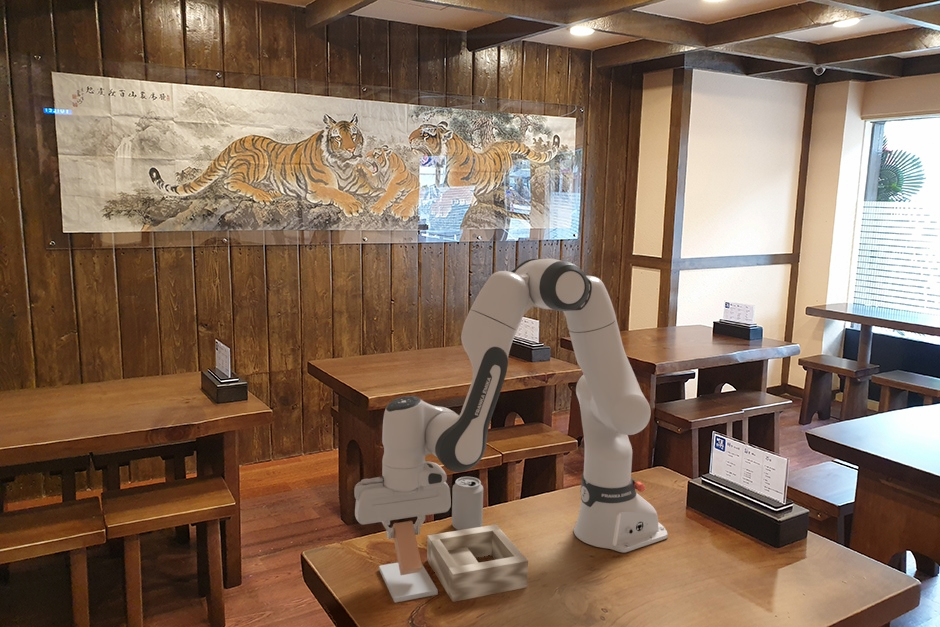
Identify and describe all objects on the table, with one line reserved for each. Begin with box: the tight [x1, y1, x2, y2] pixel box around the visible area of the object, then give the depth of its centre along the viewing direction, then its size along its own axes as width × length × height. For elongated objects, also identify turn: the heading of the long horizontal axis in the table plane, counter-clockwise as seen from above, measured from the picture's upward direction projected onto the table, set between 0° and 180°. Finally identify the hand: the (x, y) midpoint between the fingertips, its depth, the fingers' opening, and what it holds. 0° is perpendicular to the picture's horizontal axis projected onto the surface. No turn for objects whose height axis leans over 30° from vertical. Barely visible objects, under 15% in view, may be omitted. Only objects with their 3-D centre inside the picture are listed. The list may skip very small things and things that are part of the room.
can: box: [451, 476, 484, 531], centre depth 173 cm, size 8×8×12 cm
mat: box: [378, 562, 439, 603], centre depth 149 cm, size 9×13×1 cm
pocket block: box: [426, 524, 529, 603], centre depth 153 cm, size 16×17×6 cm
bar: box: [391, 520, 423, 575], centre depth 149 cm, size 10×4×3 cm
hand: (403, 535), depth 151 cm, fingers closed on bar, 4 cm apart
